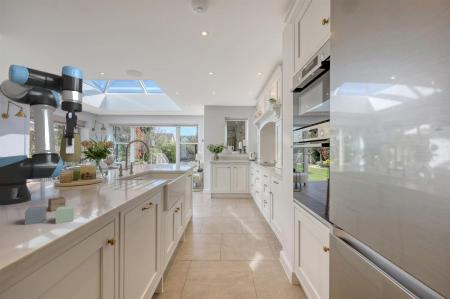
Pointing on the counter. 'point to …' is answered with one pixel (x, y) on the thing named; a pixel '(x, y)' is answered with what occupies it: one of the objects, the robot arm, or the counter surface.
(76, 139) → the squeeze bottle
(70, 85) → the robot arm
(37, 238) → the counter surface
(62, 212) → the sage cube
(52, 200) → the walnut cube
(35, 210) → the blue-grey cube
